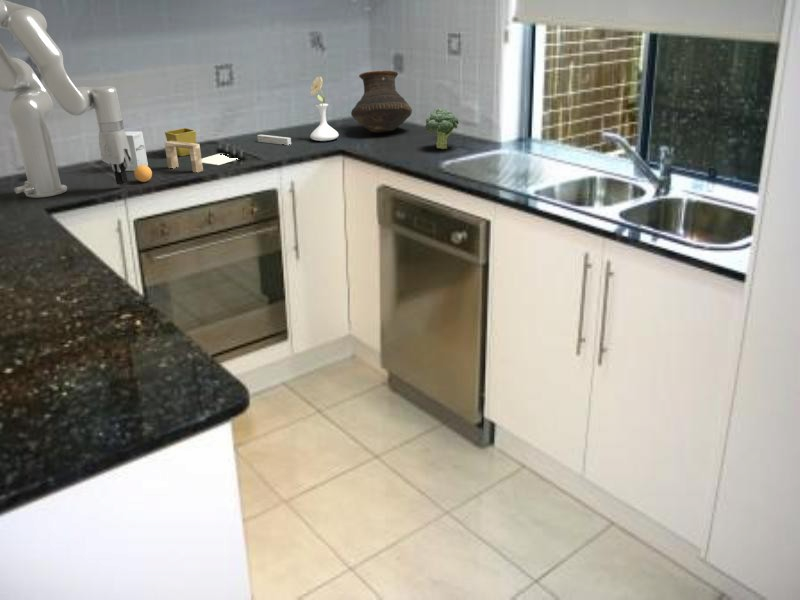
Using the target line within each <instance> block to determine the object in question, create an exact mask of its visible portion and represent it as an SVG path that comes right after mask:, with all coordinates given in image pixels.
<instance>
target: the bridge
mask: <svg viewBox="0 0 800 600" xmlns="http://www.w3.org/2000/svg"><path fill="white" fill-rule="evenodd" d="M163 143H164V148H165V149H164V150H165V154H166V160H167V161H166V162H167V168H168V169H170V168H173V169H177V168H179V167H180V166H179V160H178V155H177V153H176V147H179V148H187V149H189V150H190V155H189V156H190V162H191V169H192V172H193V173H196V172H197V173H201V172H203V171H204V166H203V163H202V153H201V146H200V143H196V144H195V143H187V142H179V141H167V140H166V141H164V142H163ZM176 167H177V168H176Z"/></svg>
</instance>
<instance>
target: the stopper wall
mask: <svg viewBox="0 0 800 600" xmlns="http://www.w3.org/2000/svg"><path fill="white" fill-rule="evenodd" d="M256 135H257V136H256V137H257V142H258V143H265V144H275V145H282V144H284V146H290V145H292V138H291V137H288V136H287V137H286V136H280V135H279V136H277V135H268V134H267V135H266V134H256ZM289 144H290V145H289Z"/></svg>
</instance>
